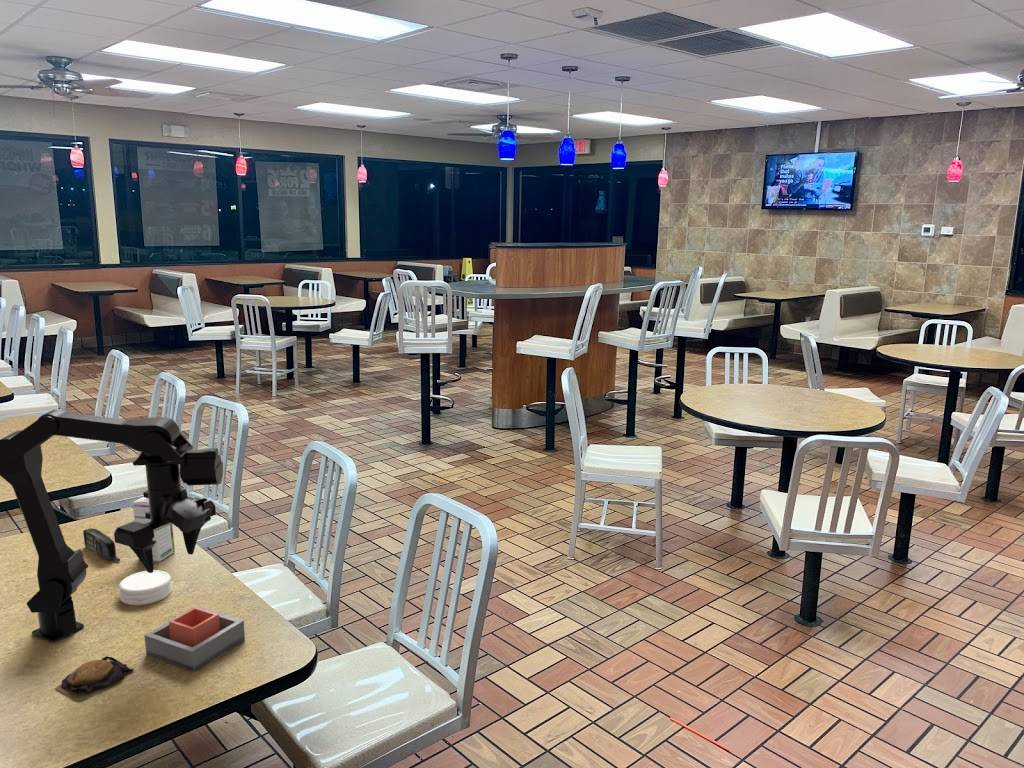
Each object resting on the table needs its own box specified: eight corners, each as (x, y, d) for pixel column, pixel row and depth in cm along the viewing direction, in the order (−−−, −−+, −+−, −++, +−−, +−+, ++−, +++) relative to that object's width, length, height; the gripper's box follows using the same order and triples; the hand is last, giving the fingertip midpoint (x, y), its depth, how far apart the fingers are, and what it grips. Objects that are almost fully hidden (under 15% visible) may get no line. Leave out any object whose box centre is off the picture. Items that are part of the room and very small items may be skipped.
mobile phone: (80, 529, 184) (107, 544, 175) (93, 525, 186) (121, 540, 177) (82, 548, 185) (110, 564, 176) (95, 544, 187) (123, 560, 178)
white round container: (114, 593, 163) (112, 578, 162) (163, 579, 169) (162, 565, 169) (127, 611, 155) (126, 595, 155) (178, 596, 162) (177, 581, 161)
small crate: (171, 646, 141) (168, 621, 140) (197, 631, 146) (195, 607, 145) (194, 654, 138) (192, 629, 137) (220, 638, 143) (218, 614, 142)
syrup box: (160, 562, 177) (154, 503, 174) (137, 560, 178) (131, 500, 176) (175, 552, 183) (170, 494, 180) (153, 550, 184) (148, 492, 181)
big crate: (146, 655, 140) (144, 635, 139) (199, 625, 150) (197, 606, 149) (193, 672, 134) (191, 651, 134) (244, 640, 145) (243, 620, 144)
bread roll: (79, 707, 126) (77, 687, 125) (51, 690, 130) (49, 671, 129) (140, 675, 134) (138, 656, 134) (111, 660, 139) (109, 642, 138)
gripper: (151, 509, 133) (159, 592, 136) (233, 477, 149) (238, 553, 152) (108, 498, 137) (116, 579, 141) (192, 469, 154) (198, 542, 157)
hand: (171, 563), depth 147 cm, fingers open, 9 cm apart
